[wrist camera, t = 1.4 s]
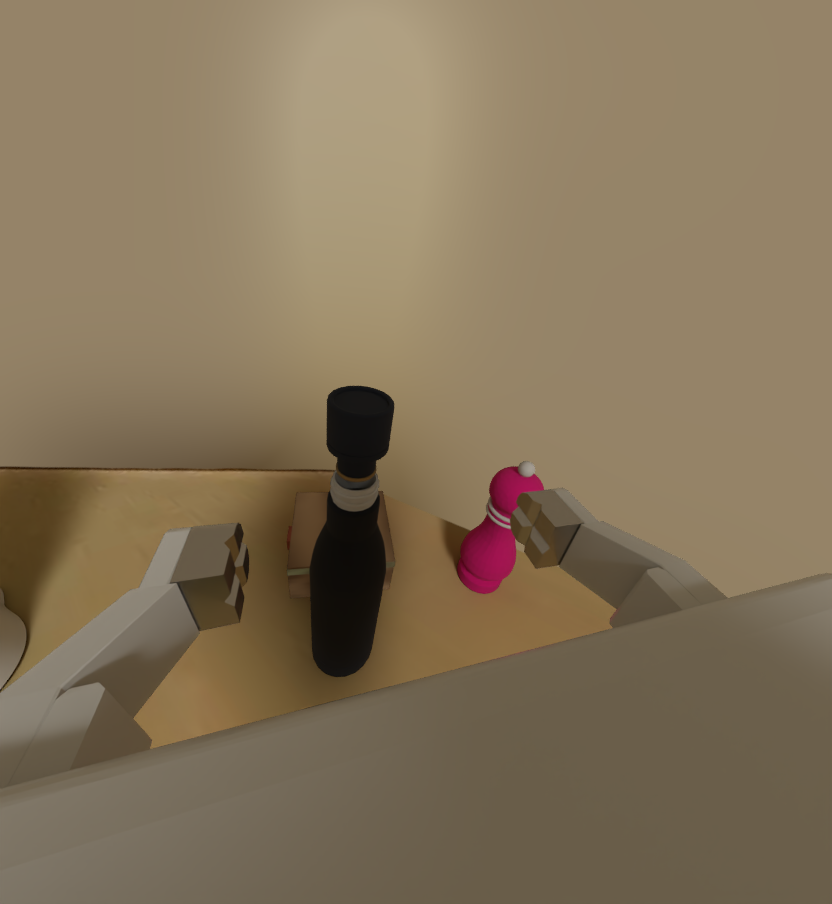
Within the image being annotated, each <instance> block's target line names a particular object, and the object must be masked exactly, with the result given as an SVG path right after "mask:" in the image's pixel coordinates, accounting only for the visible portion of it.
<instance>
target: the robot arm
mask: <svg viewBox="0 0 832 904" xmlns="http://www.w3.org/2000/svg"><path fill="white" fill-rule="evenodd" d="M516 503H517V505H518V507H517V508H516V509H515V510H514V511H513V512H512V515H511V518H510V527H511V531H512V533H513V535H514V537H515V539H516V540H517V541H518V542H520V543H521V544H523V545H525V550H524V552H525V554H526V555H527V557H528V558H529V559H530V561H531V562H532V564H533V565H534V567H535V568H536V569H538V568H544V567H551V566H558V565H560V566H559V567H560V568H562V569H563V570H564V571H566V572H567V573H568V574H570V575H571V576H572V577H574V578H575V579H576V580H578V581H579V582H581V583H582V584H583V585H585V586H586V587H587V588H589V589H590V590H591V591H593V592H594V593H595V594H597V595H598V596H600V597H601V598H602V599H604V600H605V601H606V602H608V603H609V604H610V605H612V606H613V607H614V608H616V609H617V610H616V612H615V613H614V614H613V616H612V617H611V618H610V625H611V626H612V627H613V628H612V629H608V630H604V631H601V632H597V633H593V634H589V635H585V636H581V637H578V638H574V639H570V640H566V641H562V642H558V643H555V644H551V645H547V646H543V647H539V648H535V649H532V650H528V651H524V652H520V653H516V654H512V655H509V656H505V657H501V658H497V659H493V660H489V661H486V662H482V663H478V664H474V665H470V666H466V667H463V668H459V669H455V670H451V671H447V672H443V673H440V674H436V675H432V676H428V677H424V678H420V679H417V680H413V681H409V682H405V683H401V684H397V685H394V686H390V687H386V688H382V689H378V690H374V691H371V692H367V693H363V694H359V695H355V696H351V697H348V698H344V699H340V700H336V701H332V702H329V703H325V704H321V705H317V706H313V707H309V708H306V709H302V710H298V711H294V712H290V713H286V714H283V715H279V716H275V717H271V718H267V719H264V720H260V721H256V722H252V723H248V724H244V725H241V726H237V727H233V728H229V729H225V730H221V731H218V732H214V733H210V734H206V735H202V736H199V737H195V738H191V739H187V740H183V741H179V742H176V743H172V744H168V745H164V746H160V747H156V748H153V749H150V746H151V743H152V740H151V738H150V737H149V736H148V734H147V733H146V732H145V731H144V730H143V729H142V728H141V727H140V726H139V724H138V723H137V722H136V721H135V720H134V719H133V718H134V716H135V715H136V714H137V713H138V711H139V710H140V709H141V708H142V706H143V705H144V704H145V702H146V701H147V700H148V699H149V697H150V696H151V695H152V694H153V692H154V691H155V690H156V688H157V687H158V686H159V685H160V683H161V682H162V681H163V680H164V678H165V677H166V676H167V674H168V673H169V672H170V671H171V669H172V668H173V667H174V666H175V664H176V663H177V662H178V660H179V659H180V658H181V657H182V655H183V654H184V653H185V652H186V650H187V649H188V648H189V646H190V645H191V644H192V643H193V641H194V640H195V639H196V638H197V636H198V635H199V634H200V632H199V631H203V630H207V629H212V628H217V627H222V626H227V625H232V624H236V623H240V619H241V613H242V608H243V602H244V595H243V591H242V587H243V586H244V585H245V584H246V582H247V579H248V573H249V555H248V549H247V545H245V544H244V543H242V538H243V530H242V527H241V524H240V523H230V524H218V525H206V526H195V527H189V528H176V529H169V530H168V531H167V532H166V533H165V534H164V536H163V538H162V540H161V542H160V544H159V546H158V548H157V551H156V553H155V555H154V557H153V559H152V561H151V563H150V565H149V567H148V569H147V571H146V573H145V576H144V578H143V580H142V582H141V584H140V586H139V588H137V589H131V590H129V591H128V592H127V593H125V594H124V595H123V596H122V597H120V598H119V599H118V600H117V601H115V602H114V603H113V604H112V605H110V606H109V607H108V608H107V609H105V610H104V611H103V612H102V613H100V614H99V615H98V616H97V617H95V618H94V619H93V620H92V621H90V622H89V623H88V624H86V625H85V626H84V627H83V628H81V629H80V630H79V631H78V632H76V633H75V634H74V635H73V636H71V637H70V638H69V639H68V640H66V641H65V642H64V643H63V644H61V645H60V646H59V647H58V648H56V649H55V650H54V651H53V652H51V653H50V654H49V655H48V656H46V657H45V658H44V659H43V660H41V661H40V662H39V663H38V664H36V665H35V666H34V667H32V668H31V669H30V670H29V671H27V672H26V673H25V674H24V675H22V676H21V677H20V678H19V679H17V680H16V681H15V682H14V683H12V684H11V685H10V686H9V687H7V688H6V689H5V690H4V691H2V692H1V693H0V904H832V574H829V573H825V574H818V575H815V576H811V577H807V578H803V579H800V580H796V581H792V582H788V583H784V584H780V585H777V586H773V587H769V588H765V589H761V590H758V591H753V592H750V593H746V594H742V595H739V596H734V597H731V598H727V597H726V596H725V595H724V594H723V593H721V592H720V591H719V590H718V589H717V588H716V587H714V586H713V585H712V584H711V583H710V582H709V581H708V580H707V579H706V578H704V577H703V576H702V575H701V574H700V573H699V572H697V571H696V570H695V569H694V568H693V567H692V566H691V565H690V564H688V563H687V562H686V561H685V560H683V559H681V558H678V557H677V556H674V555H672V554H670V553H668V552H666V551H664V550H662V549H660V548H658V547H656V546H653V545H651V544H649V543H647V542H645V541H643V540H641V539H639V538H637V537H635V536H633V535H631V534H629V533H627V532H624V531H622V530H620V529H618V528H616V527H614V526H612V525H610V524H608V523H606V522H604V521H600V522H599V521H598V520H597V519H596V518H595V517H594V516H593V515H592V514H591V513H590V512H589V511H588V510H587V509H586V508H585V507H584V506H583V505H582V504H581V503H580V502H579V501H578V500H577V499H575V497H574V496H573V495H572V494H571V493H570V492H569V491H568V490H566V489H564V488H557V489H550V490H540V491H532V492H523V493H521V494H520V495H519V496H518V498H517V501H516ZM25 644H26V628H25V625H24V623H23V621H22V620H21V619H20V618H19V617H18V616H17V615H16V614H14V613H13V612H11V611H10V610H8V609H7V608H6V607H5V605H4V594H3V591H2V589H1V588H0V689H1V688H2V687H3V685H4V684H5V683H6V681H7V680H8V679H9V677H10V676H11V674H12V673H13V671H14V670H15V668H16V666H17V664H18V663H19V661H20V658H21V656H22V654H23V651H24V648H25Z"/></svg>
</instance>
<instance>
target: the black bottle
mask: <svg viewBox="0 0 832 904" xmlns="http://www.w3.org/2000/svg"><path fill="white" fill-rule="evenodd" d="M393 413H394V401H393V400H392V399H391V397H390V396H389V395H387V394H386V393H384V392H382V391H380V390H377V389H374V388H370V387H364V386H346V387H341V388H338V389H336V390H333V391H332V392H331V393H330V394H329V395H328V399H327V447H328V450H329V451H330V452H331V453H332V454H333V455H334V456H335V457H337V464H336V470H335V472H334V474H333V476H332V478H331V482H330V485H331V489H330V491H329V493H328V497H327V521H326V523H325V525H324V526H323V528H322V530H321V532H320V534H319V536H318V538H317V540H316V543H315V546H314V549H313V554H312V558H311V563H310V568H309V575H310V602H311V629H312V651H313V657H314V660H315V662H316V664H317V666H318V667H319V668H320V669H321V670H322V671H323V672H324V673H326V674H328V675H331V676H334V677H343V676H348V675H350V674H353V673H355V672H356V671H357V670H359V669H360V668H361V667H362V666H363V665H364V664H365V662H366V661H367V659H368V658H369V655H370V652H371V649H372V644H373V639H374V633H375V628H376V623H377V617H378V612H379V606H380V601H381V596H382V590H383V585H384V580H385V574H386V554H385V546H384V540H383V537H382V534H381V532H380V529H379V526H378V523H377V521H378V513H379V506H380V496H379V493H378V488H379V480H378V476H377V474H376V460H379V459H381V458H382V457H383V456H385V455H386V453H387V451H388V448H389V441H390V433H391V426H392V420H393Z"/></svg>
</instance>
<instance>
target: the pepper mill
mask: <svg viewBox="0 0 832 904" xmlns="http://www.w3.org/2000/svg"><path fill="white" fill-rule="evenodd" d="M534 472H535V466H534V465H533V464H532V463H531V462H529V461H524V462H522V463H520V465H519V466H518V467H507V468H504V469H502V470H500V471H499V472H498V473H497V474H496V475H495V476H494V477H493V479H492V481H491V483H490V488H489V493H490V498H489V500H488V503H487V505H486V511H487V516H486V518H485V519H484V521H483V522H482V523H481V524H480V525H479V526H477V527H476V528H474V529H473V530H471V531H470V532H469V533H468V535H467V536H466V537H465V539H464V541H463V543H462V545H461V550H460V553H461V558H460V560H459V563H458V566H457V571H458V575H459V578H460V579H461V581H462V582H463V583H464V585H465V586H466V587H468V588H469V589H471V590H472V591H475V592H477V593H482V594H486V593H491V592H493V591H495V590H496V589H497V588H498V587H499V585H500V583H501V581H502V579H504V578H505V577H507V576H508V575H509V574H510V573H511V571H512V569H513V567H514V564H515V560H516V546H515V537H514V535H513V533H512V531H511V527H510V518H511V515H512V512H513V511H514V510H515V509H516V508H517V507H518V505H517V503H516V501H517V498H518V496H519V495H520V494H521V493H523V492H532V491H540V490H544V488H543V484H542V483H541V481H540V479H539V478H538V477H537V476H536V475H535V474H534Z"/></svg>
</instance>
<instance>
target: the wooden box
mask: <svg viewBox="0 0 832 904" xmlns="http://www.w3.org/2000/svg"><path fill="white" fill-rule="evenodd" d="M328 493H329V492H304V493H296V500H295V508H294V516H293V524H292V526H289V529H288V537H287V548H288V550H289V557H288V565H287V576H288V581H289V591H290V598H300V597H310V575H309V568H310V563H311V558H312V554H313V549H314V546H315V543H316V540H317V538H318V536H319V534H320V532H321V530H322V528H323V526H324V525H325V523H326V521H327V497H328ZM378 493H379V496H380V506H379V513H378V521H377V523H378V526H379V529H380V532H381V534H382V537H383V540H384V546H385V554H386V574H385V580H384V585H383V589H389V587H390V582H391V577H392V573H393V568H394V566H395V557H394V551H393V546H392V540H391V535H390V529H389V523H388V518H387V512H386V507H385V501H384V495H383V491H378Z"/></svg>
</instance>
